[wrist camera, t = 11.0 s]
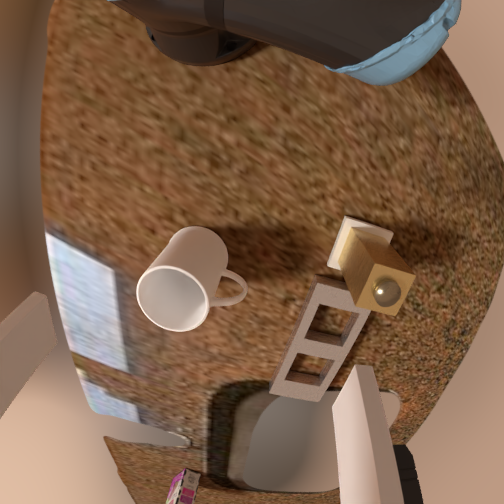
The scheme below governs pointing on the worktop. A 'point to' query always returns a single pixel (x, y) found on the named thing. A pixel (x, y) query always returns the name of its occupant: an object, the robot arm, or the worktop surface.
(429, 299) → the worktop surface
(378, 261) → the brass block
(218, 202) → the worktop surface
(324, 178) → the worktop surface
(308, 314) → the rail plate
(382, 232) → the pad
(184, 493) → the candy bar box
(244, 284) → the mug
